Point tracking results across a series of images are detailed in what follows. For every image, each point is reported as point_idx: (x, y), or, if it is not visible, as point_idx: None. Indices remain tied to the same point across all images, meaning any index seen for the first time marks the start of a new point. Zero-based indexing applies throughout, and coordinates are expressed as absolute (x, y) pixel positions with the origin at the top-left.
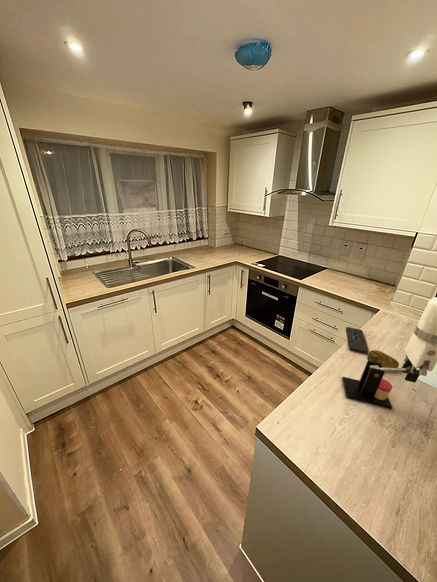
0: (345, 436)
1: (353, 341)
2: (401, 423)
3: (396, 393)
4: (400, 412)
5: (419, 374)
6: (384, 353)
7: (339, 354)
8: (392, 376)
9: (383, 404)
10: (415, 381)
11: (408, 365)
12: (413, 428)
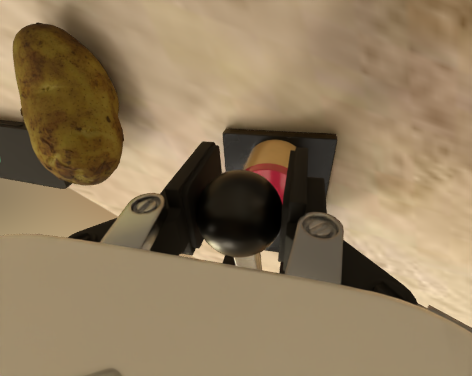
0: (464, 288)
1: (20, 169)
2: (409, 117)
3: (233, 77)
4: (347, 99)
5: (360, 262)
6: (26, 118)
7: None
8: (126, 59)
9: (330, 167)
10: (307, 153)
11: (196, 230)
12: (437, 72)
